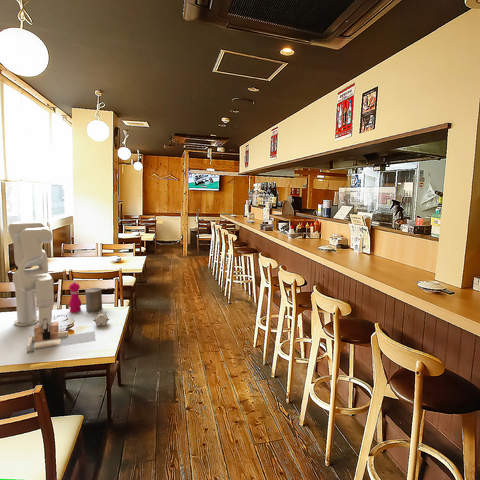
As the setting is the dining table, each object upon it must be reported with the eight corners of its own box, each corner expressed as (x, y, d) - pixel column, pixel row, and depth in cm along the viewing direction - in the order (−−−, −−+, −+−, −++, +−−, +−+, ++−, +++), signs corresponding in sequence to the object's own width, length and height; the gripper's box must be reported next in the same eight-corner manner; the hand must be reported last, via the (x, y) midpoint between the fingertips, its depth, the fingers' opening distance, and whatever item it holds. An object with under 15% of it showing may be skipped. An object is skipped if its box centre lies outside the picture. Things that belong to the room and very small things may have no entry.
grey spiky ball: (103, 333, 187) (101, 324, 180) (90, 327, 188) (89, 318, 181) (113, 321, 193) (112, 312, 186) (101, 315, 194) (99, 306, 187)
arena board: (30, 342, 166) (30, 335, 165) (94, 333, 179) (94, 327, 178) (27, 353, 155) (26, 346, 155) (95, 342, 168) (95, 336, 168)
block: (58, 334, 167) (58, 321, 166) (58, 338, 163) (57, 325, 162) (36, 337, 163) (35, 324, 162) (34, 341, 158) (34, 328, 157)
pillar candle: (105, 308, 216) (104, 286, 214) (95, 313, 207) (94, 290, 205) (93, 306, 219) (92, 285, 217) (82, 311, 210) (81, 289, 207)
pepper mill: (78, 308, 215) (77, 278, 212) (83, 310, 210) (82, 281, 208) (67, 310, 209) (65, 280, 206) (72, 313, 205) (70, 283, 202)
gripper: (38, 297, 166) (40, 331, 169) (34, 308, 151) (36, 345, 153) (55, 296, 169) (56, 329, 172) (52, 306, 154) (54, 342, 157)
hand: (47, 336), depth 163 cm, fingers closed on block, 5 cm apart
